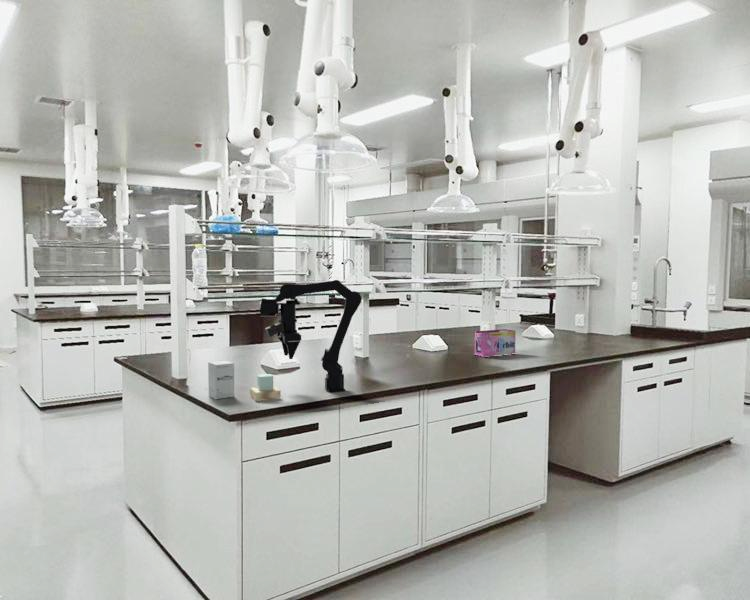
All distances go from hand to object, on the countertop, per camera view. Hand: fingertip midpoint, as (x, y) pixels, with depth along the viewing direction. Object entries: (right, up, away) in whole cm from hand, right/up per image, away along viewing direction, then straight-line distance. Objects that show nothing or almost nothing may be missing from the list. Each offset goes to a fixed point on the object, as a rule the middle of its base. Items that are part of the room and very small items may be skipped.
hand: (288, 357), depth 211 cm
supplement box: (-23, -14, -9) cm, 28 cm away
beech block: (-7, -14, -10) cm, 19 cm away
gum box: (+98, -9, +89) cm, 133 cm away
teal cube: (-7, -11, -10) cm, 16 cm away
